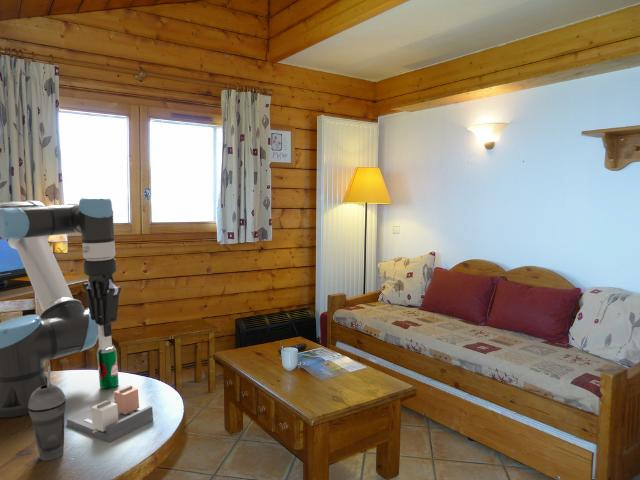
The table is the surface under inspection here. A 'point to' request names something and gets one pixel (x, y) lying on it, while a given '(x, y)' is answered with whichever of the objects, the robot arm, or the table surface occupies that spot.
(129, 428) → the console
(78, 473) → the table surface
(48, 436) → the beverage cup
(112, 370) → the soda can
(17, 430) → the table surface
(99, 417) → the block
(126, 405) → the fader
